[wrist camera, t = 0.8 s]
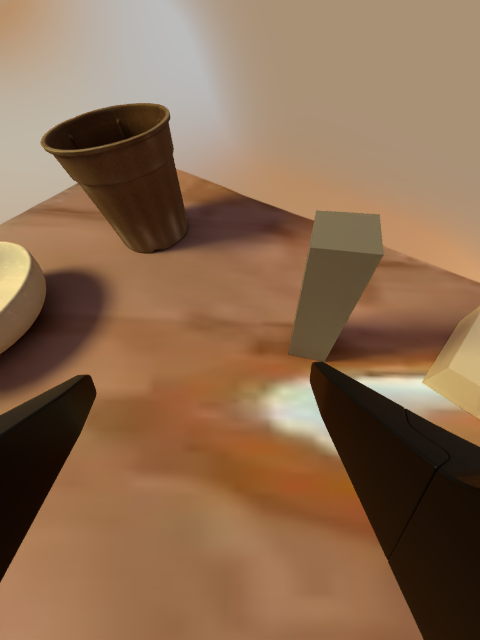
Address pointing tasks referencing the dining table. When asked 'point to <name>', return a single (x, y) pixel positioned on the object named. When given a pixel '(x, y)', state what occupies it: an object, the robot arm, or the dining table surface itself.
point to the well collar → (459, 366)
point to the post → (334, 278)
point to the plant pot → (125, 171)
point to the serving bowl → (18, 292)
